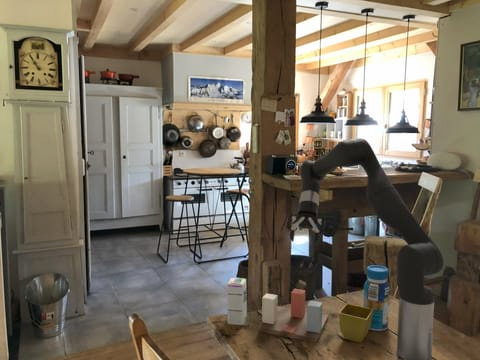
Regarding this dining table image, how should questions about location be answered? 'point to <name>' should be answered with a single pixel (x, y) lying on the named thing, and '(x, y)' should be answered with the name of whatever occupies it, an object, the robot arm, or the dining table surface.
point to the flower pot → (355, 321)
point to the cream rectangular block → (269, 308)
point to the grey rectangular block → (314, 316)
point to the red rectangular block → (298, 303)
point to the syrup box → (236, 301)
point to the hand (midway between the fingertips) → (303, 242)
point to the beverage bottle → (377, 296)
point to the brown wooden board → (292, 326)
